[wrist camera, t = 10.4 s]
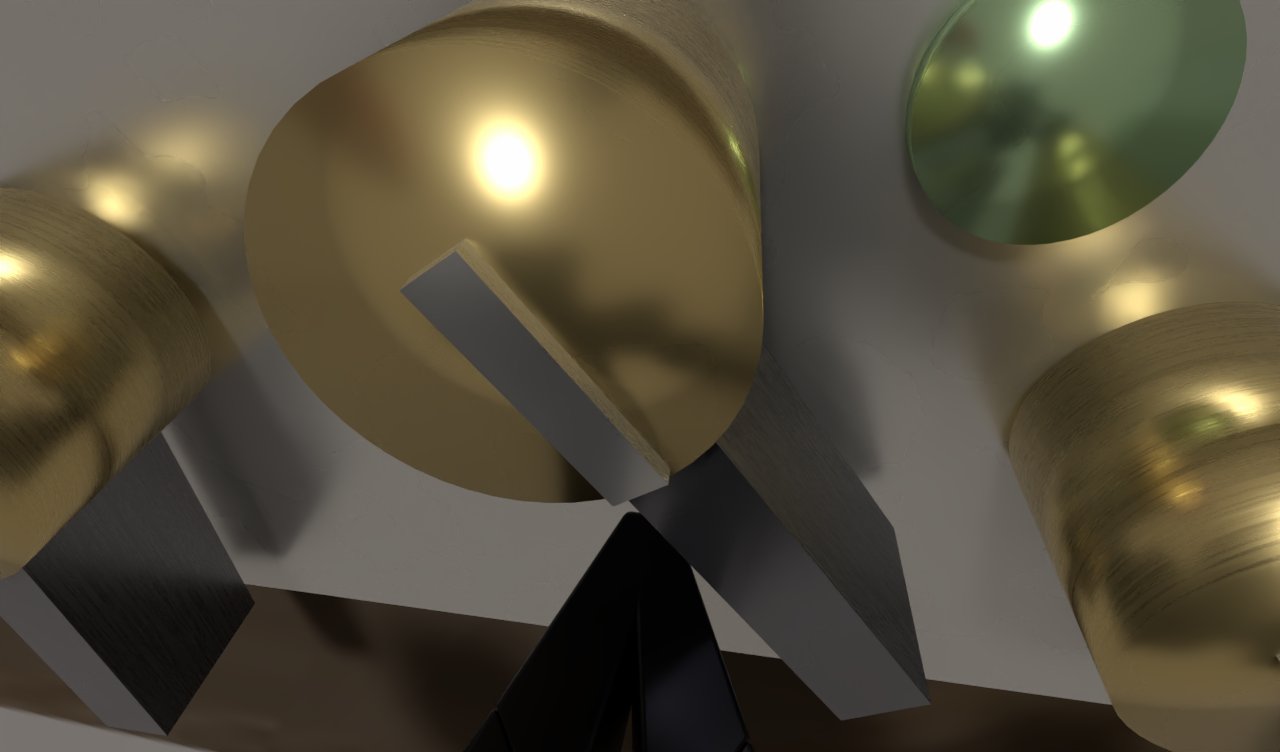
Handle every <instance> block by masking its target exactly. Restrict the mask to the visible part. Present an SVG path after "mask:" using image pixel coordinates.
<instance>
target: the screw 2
mask: <svg viewBox="0 0 1280 752" xmlns="http://www.w3.org/2000/svg"><path fill="white" fill-rule="evenodd" d="M1009 455H1010V461H1011V465H1012V468H1013V471H1014V474H1015V476H1016V479H1017V481H1018V483H1019V486H1020V488H1021V490H1022V493H1023V495H1024V498H1025V500H1026V502H1027V505H1028V507H1029V509H1030V512H1031V514H1032V516H1033V519H1034V521H1035V524H1036V526H1037V528H1038V531H1039V533H1040V535H1041V538H1042V540H1043V543H1044V545H1045V547H1046V550H1047V552H1048V554H1049V557H1050V559H1051V561H1052V564H1053V566H1054V569H1055V571H1056V573H1057V576H1058V578H1059V580H1060V583H1061V585H1062V587H1063V590H1064V592H1065V595H1066V597H1067V599H1068V602H1069V604H1070V606H1071V609H1072V611H1073V614H1074V616H1075V618H1076V621H1077V623H1078V625H1079V628H1080V630H1081V632H1082V635H1083V637H1084V640H1085V642H1086V644H1087V647H1088V649H1089V651H1090V654H1091V656H1092V659H1093V661H1094V663H1095V666H1096V668H1097V670H1098V673H1099V675H1100V677H1101V680H1102V682H1103V685H1104V687H1105V689H1106V692H1107V694H1108V696H1109V699H1110V701H1111V704H1112V706H1113V707H1114V709H1115V711H1116V713H1117V715H1118V716H1119V717H1120V719H1121V720H1122V721H1123V722H1124V723H1125V724H1126V725H1127V726H1128V727H1129V728H1130V729H1132V730H1133V731H1134V732H1135V733H1137V734H1138V735H1139V736H1141V737H1143V738H1145V739H1146V740H1148V741H1150V742H1152V743H1154V744H1155V745H1158V746H1160V747H1163V748H1165V749H1168V750H1170V751H1173V752H1280V306H1279V305H1274V304H1267V303H1257V302H1217V303H1208V304H1198V305H1193V306H1188V307H1182V308H1177V309H1172V310H1169V311H1165V312H1161V313H1158V314H1154V315H1151V316H1147V317H1145V318H1142V319H1139V320H1137V321H1134V322H1131V323H1129V324H1126V325H1123V326H1121V327H1119V328H1117V329H1115V330H1113V331H1110V332H1108V333H1106V334H1104V335H1102V336H1100V337H1098V338H1097V339H1095V340H1093V341H1091V342H1090V343H1088V344H1086V345H1085V346H1083V347H1081V348H1080V349H1078V350H1077V351H1075V352H1074V353H1073V354H1071V355H1070V356H1068V357H1067V358H1066V359H1064V360H1063V361H1061V362H1060V363H1059V364H1058V365H1057V366H1056V367H1055V368H1053V369H1052V370H1051V371H1050V372H1049V373H1048V374H1047V375H1046V376H1045V377H1044V378H1043V379H1042V380H1041V381H1040V382H1039V383H1038V384H1037V385H1036V387H1035V388H1034V389H1033V390H1032V391H1031V393H1030V394H1029V396H1028V397H1027V398H1026V400H1025V401H1024V403H1023V404H1022V406H1021V408H1020V410H1019V412H1018V414H1017V416H1016V418H1015V421H1014V424H1013V427H1012V430H1011V434H1010V441H1009Z"/></svg>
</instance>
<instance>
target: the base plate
mask: <svg viewBox="0 0 1280 752" xmlns="http://www.w3.org/2000/svg"><path fill="white" fill-rule="evenodd" d="M472 1H474V0H0V188H14V189H21V190H27V191H33V192H36V193H40V194H44V195H47V196H51V197H54V198H56V199H59V200H62V201H64V202H67V203H70V204H72V205H74V206H76V207H78V208H80V209H82V210H85V211H87V212H89V213H91V214H92V215H94V216H96V217H98V218H99V219H101V220H103V221H105V222H106V223H108V224H110V225H111V226H113V227H114V228H116V229H117V230H119V231H120V232H121V233H123V234H124V235H126V236H127V237H129V238H130V239H131V240H132V241H134V242H135V243H136V244H137V245H139V246H140V247H141V248H142V249H144V250H145V251H146V252H147V253H148V254H149V255H150V256H151V257H153V258H154V259H155V260H156V261H157V262H158V263H159V264H160V265H161V266H162V267H163V268H164V269H165V270H166V271H167V272H168V274H169V275H170V276H171V277H172V278H173V279H174V280H175V281H176V283H177V284H178V285H179V286H180V288H181V289H182V290H183V292H184V293H185V294H186V295H187V297H188V299H189V300H190V302H191V303H192V305H193V306H194V308H195V309H196V311H197V313H198V315H199V317H200V319H201V321H202V323H203V325H204V328H205V330H206V333H207V336H208V339H209V343H210V348H211V355H212V367H211V374H210V377H209V380H208V382H207V385H206V386H205V388H204V389H203V391H202V392H201V393H200V394H199V395H198V396H197V397H196V398H195V399H194V400H193V401H192V402H191V403H190V404H189V405H188V406H187V407H186V408H185V409H184V410H183V411H182V412H181V413H180V414H179V415H178V416H177V417H176V418H175V419H174V420H173V421H171V422H170V423H169V424H168V425H167V426H166V427H165V428H164V429H163V430H162V431H161V432H162V434H163V436H164V438H165V439H166V441H167V443H168V445H169V447H170V449H171V450H172V452H173V454H174V456H175V458H176V460H177V461H178V463H179V465H180V467H181V469H182V471H183V472H184V474H185V476H186V478H187V480H188V482H189V483H190V485H191V487H192V489H193V491H194V492H195V494H196V496H197V498H198V500H199V502H200V503H201V505H202V507H203V509H204V511H205V513H206V514H207V516H208V518H209V520H210V522H211V524H212V525H213V527H214V529H215V531H216V533H217V535H218V536H219V538H220V540H221V542H222V544H223V546H224V547H225V549H226V551H227V553H228V555H229V557H230V558H231V560H232V562H233V564H234V566H235V568H236V569H237V571H238V573H239V575H240V577H241V579H242V580H243V582H244V584H250V585H258V586H265V587H272V588H279V589H286V590H293V591H301V592H308V593H315V594H322V595H329V596H336V597H343V598H351V599H358V600H365V601H372V602H379V603H386V604H394V605H401V606H408V607H415V608H422V609H429V610H437V611H444V612H451V613H458V614H465V615H472V616H480V617H487V618H494V619H501V620H508V621H515V622H522V623H530V624H537V625H544V626H549V625H550V623H551V622H552V621H553V619H554V618H555V616H556V615H557V613H558V612H559V610H560V609H561V607H562V606H563V604H564V603H565V601H566V600H567V598H568V597H569V595H570V594H571V592H572V591H573V589H574V588H575V586H576V585H577V583H578V582H579V580H580V579H581V578H582V576H583V575H584V573H585V572H586V570H587V569H588V567H589V566H590V564H591V563H592V561H593V560H594V558H595V557H596V555H597V554H598V552H599V551H600V549H601V548H602V546H603V545H604V543H605V542H606V540H607V539H608V537H609V536H610V535H611V533H612V532H613V530H614V529H615V527H616V526H617V524H618V523H619V521H620V520H621V518H622V517H623V515H624V514H625V513H627V512H629V511H633V512H639V511H638V510H637V509H636V508H635V507H634V506H633V505H632V504H631V503H630V502H629V501H626V502H624V503H621V504H619V505H616V506H614V507H613V506H612V505H611V504H610V503H609V502H608V501H607V500H606V499H601V500H594V501H585V502H576V503H541V502H528V501H518V500H512V499H506V498H500V497H494V496H490V495H487V494H483V493H479V492H475V491H471V490H467V489H464V488H461V487H459V486H456V485H453V484H450V483H447V482H444V481H441V480H439V479H437V478H434V477H432V476H430V475H428V474H425V473H423V472H421V471H419V470H416V469H414V468H413V467H411V466H409V465H407V464H405V463H403V462H401V461H400V460H398V459H396V458H394V457H392V456H390V455H389V454H387V453H386V452H384V451H383V450H381V449H380V448H378V447H377V446H375V445H374V444H372V443H371V442H369V441H367V440H366V439H365V438H363V437H362V436H361V435H360V434H358V433H357V432H356V431H355V430H353V429H352V428H351V427H349V426H348V425H347V424H346V423H344V422H343V421H342V420H341V419H340V418H339V417H338V416H337V415H336V414H335V413H333V412H332V411H331V410H330V409H329V408H328V407H327V406H326V405H325V404H324V403H323V402H322V401H321V400H320V399H319V398H318V397H317V396H316V394H315V393H314V392H313V391H312V390H311V389H310V388H309V387H308V386H307V384H306V383H305V382H304V381H303V380H302V379H301V377H300V376H299V374H298V373H297V372H296V370H295V369H294V368H293V366H292V365H291V364H290V362H289V361H288V359H287V358H286V357H285V355H284V354H283V352H282V350H281V348H280V347H279V345H278V343H277V342H276V340H275V338H274V336H273V335H272V333H271V331H270V329H269V327H268V325H267V323H266V320H265V318H264V316H263V313H262V311H261V309H260V307H259V304H258V302H257V299H256V295H255V292H254V289H253V285H252V282H251V279H250V275H249V270H248V264H247V258H246V252H245V245H244V212H245V205H246V198H247V192H248V185H249V182H250V179H251V176H252V173H253V170H254V167H255V164H256V161H257V158H258V156H259V154H260V152H261V150H262V148H263V147H264V145H265V143H266V141H267V139H268V138H269V136H270V134H271V132H272V130H273V129H274V127H275V126H276V125H277V124H278V123H279V121H280V120H281V119H282V118H283V117H284V115H285V114H286V113H287V112H288V111H289V109H290V108H291V107H292V106H293V105H294V104H295V103H296V102H297V101H298V100H300V99H301V98H302V97H303V96H304V95H306V94H307V93H308V92H309V91H311V90H312V89H313V88H314V87H315V86H317V85H318V84H319V83H320V82H322V81H324V80H326V79H328V78H329V77H331V76H333V75H335V74H337V73H339V72H340V71H342V70H344V69H346V68H348V67H349V66H351V65H353V64H355V63H357V62H359V61H361V60H363V59H364V58H366V57H368V56H370V55H372V54H374V53H376V52H378V51H379V50H381V49H383V48H385V47H387V46H389V45H391V44H393V43H395V42H396V41H398V40H400V39H402V38H404V37H406V36H408V35H410V34H411V33H413V32H415V31H417V30H419V29H421V28H423V27H425V26H427V25H428V24H430V23H432V22H434V21H436V20H438V19H440V18H442V17H444V16H445V15H447V14H449V13H451V12H453V11H455V10H457V9H459V8H460V7H462V6H464V5H466V4H468V3H470V2H472ZM677 1H679V2H680V3H682V4H683V5H684V6H685V7H687V8H688V9H689V10H690V11H691V12H692V13H694V14H695V15H696V16H697V17H698V18H699V19H701V20H702V21H703V22H704V23H705V25H706V26H707V27H708V28H709V29H710V30H711V31H712V32H713V34H714V35H715V36H716V37H717V38H718V39H719V40H720V42H721V43H722V45H723V46H724V48H725V49H726V51H727V52H728V54H729V55H730V56H731V58H732V59H733V61H734V63H735V65H736V67H737V69H738V71H739V73H740V75H741V77H742V79H743V81H744V83H745V85H746V88H747V91H748V94H749V97H750V100H751V102H752V105H753V109H754V114H755V119H756V124H757V129H758V139H759V157H760V198H761V239H762V280H763V322H764V324H763V335H762V341H763V343H764V344H765V346H766V347H767V348H768V350H769V351H770V353H771V354H772V356H773V357H774V358H775V360H776V361H777V363H778V364H779V366H780V367H781V368H782V370H783V371H784V373H785V374H786V375H787V377H788V378H789V380H790V381H791V383H792V384H793V385H794V387H795V388H796V390H797V391H798V393H799V394H800V395H801V397H802V398H803V400H804V401H805V402H806V404H807V405H808V407H809V408H810V410H811V411H812V412H813V414H814V415H815V417H816V418H817V419H818V421H819V422H820V424H821V425H822V427H823V428H824V429H825V431H826V432H827V434H828V435H829V437H830V438H831V439H832V441H833V442H834V444H835V445H836V446H837V448H838V449H839V451H840V452H841V454H842V455H843V456H844V458H845V459H846V461H847V462H848V464H849V465H850V466H851V468H852V469H853V471H854V472H855V473H856V475H857V476H858V478H859V479H860V481H861V482H862V483H863V485H864V486H865V488H866V489H867V491H868V492H869V493H870V495H871V496H872V498H873V499H874V500H875V502H876V503H877V505H878V506H879V508H880V509H881V510H882V512H883V513H884V515H885V516H886V518H887V519H888V520H889V522H890V523H891V525H892V526H893V527H894V530H895V535H896V540H897V545H898V549H899V554H900V559H901V564H902V568H903V573H904V578H905V583H906V588H907V592H908V597H909V602H910V607H911V611H912V616H913V621H914V626H915V630H916V635H917V640H918V645H919V649H920V654H921V659H922V664H923V668H924V673H925V678H926V679H931V680H938V681H945V682H952V683H959V684H966V685H974V686H981V687H988V688H995V689H1002V690H1009V691H1016V692H1024V693H1031V694H1038V695H1045V696H1052V697H1059V698H1067V699H1074V700H1081V701H1088V702H1095V703H1102V704H1110V705H1112V704H1111V701H1110V699H1109V696H1108V694H1107V692H1106V689H1105V687H1104V685H1103V682H1102V680H1101V677H1100V675H1099V673H1098V670H1097V668H1096V666H1095V663H1094V661H1093V659H1092V656H1091V654H1090V651H1089V649H1088V647H1087V644H1086V642H1085V640H1084V637H1083V635H1082V632H1081V630H1080V628H1079V625H1078V623H1077V621H1076V618H1075V616H1074V614H1073V611H1072V609H1071V606H1070V604H1069V602H1068V599H1067V597H1066V595H1065V592H1064V590H1063V587H1062V585H1061V583H1060V580H1059V578H1058V576H1057V573H1056V571H1055V569H1054V566H1053V564H1052V561H1051V559H1050V557H1049V554H1048V552H1047V550H1046V547H1045V545H1044V543H1043V540H1042V538H1041V535H1040V533H1039V531H1038V528H1037V526H1036V524H1035V521H1034V519H1033V516H1032V514H1031V512H1030V509H1029V507H1028V505H1027V502H1026V500H1025V498H1024V495H1023V493H1022V490H1021V488H1020V486H1019V483H1018V481H1017V479H1016V476H1015V474H1014V471H1013V468H1012V465H1011V461H1010V455H1009V441H1010V434H1011V430H1012V427H1013V424H1014V421H1015V418H1016V416H1017V414H1018V412H1019V410H1020V408H1021V406H1022V404H1023V403H1024V401H1025V400H1026V398H1027V397H1028V396H1029V394H1030V393H1031V391H1032V390H1033V389H1034V388H1035V387H1036V385H1037V384H1038V383H1039V382H1040V381H1041V380H1042V379H1043V378H1044V377H1045V376H1046V375H1047V374H1048V373H1049V372H1050V371H1051V370H1052V369H1053V368H1055V367H1056V366H1057V365H1058V364H1059V363H1060V362H1061V361H1063V360H1064V359H1066V358H1067V357H1068V356H1070V355H1071V354H1073V353H1074V352H1075V351H1077V350H1078V349H1080V348H1081V347H1083V346H1085V345H1086V344H1088V343H1090V342H1091V341H1093V340H1095V339H1097V338H1098V337H1100V336H1102V335H1104V334H1106V333H1108V332H1110V331H1113V330H1115V329H1117V328H1119V327H1121V326H1123V325H1126V324H1129V323H1131V322H1134V321H1137V320H1139V319H1142V318H1145V317H1147V316H1151V315H1154V314H1158V313H1161V312H1165V311H1169V310H1172V309H1177V308H1182V307H1188V306H1193V305H1198V304H1208V303H1217V302H1257V303H1267V304H1274V305H1279V306H1280V0H677ZM691 567H692V566H691ZM692 570H693V573H694V576H695V579H696V581H697V584H698V587H699V590H700V593H701V596H702V599H703V602H704V605H705V608H706V611H707V613H708V616H709V619H710V622H711V625H712V628H713V631H714V634H715V637H716V640H717V642H718V645H719V648H720V650H723V651H730V652H737V653H744V654H752V655H759V656H766V657H773V658H780V657H779V656H778V655H777V654H776V653H775V652H774V651H773V650H772V649H771V648H770V647H769V646H768V645H767V644H766V643H765V642H764V640H763V639H762V638H761V637H760V636H759V635H758V634H757V633H756V632H755V631H754V630H753V629H752V628H751V627H750V626H749V625H748V624H747V623H746V622H745V621H744V620H743V619H742V618H741V617H740V616H739V615H738V614H737V613H736V611H735V610H734V609H733V608H732V607H731V606H730V605H729V604H728V603H727V602H726V601H725V600H724V599H723V598H722V597H721V596H720V595H719V594H718V593H717V592H716V591H715V590H714V589H713V588H712V587H711V586H710V585H709V584H708V582H707V581H706V580H705V579H704V578H703V577H702V576H701V575H700V574H699V573H698V572H697V571H696V570H695V569H694V568H693V567H692ZM780 659H781V658H780Z"/></svg>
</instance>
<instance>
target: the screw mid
mask: <svg viewBox="0 0 1280 752" xmlns="http://www.w3.org/2000/svg"><path fill="white" fill-rule="evenodd" d="M244 245H245V252H246V258H247V264H248V270H249V275H250V279H251V282H252V285H253V289H254V292H255V295H256V299H257V302H258V304H259V307H260V309H261V311H262V313H263V316H264V318H265V320H266V323H267V325H268V327H269V329H270V331H271V333H272V335H273V336H274V338H275V340H276V342H277V343H278V345H279V347H280V348H281V350H282V352H283V354H284V355H285V357H286V358H287V359H288V361H289V362H290V364H291V365H292V366H293V368H294V369H295V370H296V372H297V373H298V374H299V376H300V377H301V379H302V380H303V381H304V382H305V383H306V384H307V386H308V387H309V388H310V389H311V390H312V391H313V392H314V393H315V394H316V396H317V397H318V398H319V399H320V400H321V401H322V402H323V403H324V404H325V405H326V406H327V407H328V408H329V409H330V410H331V411H332V412H333V413H335V414H336V415H337V416H338V417H339V418H340V419H341V420H342V421H343V422H344V423H346V424H347V425H348V426H349V427H351V428H352V429H353V430H355V431H356V432H357V433H358V434H360V435H361V436H362V437H363V438H365V439H366V440H367V441H369V442H371V443H372V444H374V445H375V446H377V447H378V448H380V449H381V450H383V451H384V452H386V453H387V454H389V455H390V456H392V457H394V458H396V459H398V460H400V461H401V462H403V463H405V464H407V465H409V466H411V467H413V468H414V469H416V470H419V471H421V472H423V473H425V474H428V475H430V476H432V477H434V478H437V479H439V480H441V481H444V482H447V483H450V484H453V485H456V486H459V487H461V488H464V489H467V490H471V491H475V492H479V493H483V494H487V495H490V496H494V497H500V498H506V499H512V500H518V501H528V502H541V503H576V502H585V501H594V500H601V499H606V500H607V501H608V502H609V503H610V504H611V505H612V506H613V507H614V506H616V505H619V504H621V503H624V502H626V501H629V502H630V503H631V504H632V505H633V506H634V507H635V508H636V509H637V510H638V511H639V512H640V513H641V514H642V515H643V516H644V517H645V518H646V519H647V520H648V521H649V522H650V523H651V525H652V526H653V527H654V528H655V529H656V530H657V531H658V532H659V533H660V534H661V535H662V536H663V537H664V538H665V539H666V540H667V541H668V542H669V543H670V544H671V545H672V546H673V547H674V548H675V549H676V550H677V551H678V552H679V554H680V555H681V556H682V557H683V558H684V559H685V560H686V561H687V562H688V563H689V564H690V565H691V566H692V567H693V568H694V569H695V570H696V571H697V572H698V573H699V574H700V575H701V576H702V577H703V578H704V579H705V580H706V581H707V582H708V584H709V585H710V586H711V587H712V588H713V589H714V590H715V591H716V592H717V593H718V594H719V595H720V596H721V597H722V598H723V599H724V600H725V601H726V602H727V603H728V604H729V605H730V606H731V607H732V608H733V609H734V610H735V611H736V613H737V614H738V615H739V616H740V617H741V618H742V619H743V620H744V621H745V622H746V623H747V624H748V625H749V626H750V627H751V628H752V629H753V630H754V631H755V632H756V633H757V634H758V635H759V636H760V637H761V638H762V639H763V640H764V642H765V643H766V644H767V645H768V646H769V647H770V648H771V649H772V650H773V651H774V652H775V653H776V654H777V655H778V656H779V657H780V658H781V659H782V660H783V661H784V662H785V663H786V664H787V665H788V666H789V667H790V668H791V669H792V670H793V672H794V673H795V674H796V675H797V676H798V677H799V678H800V679H801V680H802V681H803V682H804V683H805V684H806V685H807V686H808V687H809V688H810V689H811V690H812V691H813V692H814V693H815V694H816V695H817V696H818V697H819V698H820V699H821V701H822V702H823V703H824V704H825V705H826V706H827V707H828V708H829V709H830V710H831V711H832V712H833V713H834V714H835V715H836V716H837V717H838V718H839V719H840V720H841V721H842V720H847V719H853V718H858V717H864V716H869V715H875V714H880V713H885V712H891V711H896V710H902V709H907V708H913V707H918V706H923V705H929V704H931V702H930V697H929V692H928V688H927V683H926V678H925V673H924V668H923V664H922V659H921V654H920V649H919V645H918V640H917V635H916V630H915V626H914V621H913V616H912V611H911V607H910V602H909V597H908V592H907V588H906V583H905V578H904V573H903V568H902V564H901V559H900V554H899V549H898V545H897V540H896V535H895V530H894V527H893V526H892V525H891V523H890V522H889V520H888V519H887V518H886V516H885V515H884V513H883V512H882V510H881V509H880V508H879V506H878V505H877V503H876V502H875V500H874V499H873V498H872V496H871V495H870V493H869V492H868V491H867V489H866V488H865V486H864V485H863V483H862V482H861V481H860V479H859V478H858V476H857V475H856V473H855V472H854V471H853V469H852V468H851V466H850V465H849V464H848V462H847V461H846V459H845V458H844V456H843V455H842V454H841V452H840V451H839V449H838V448H837V446H836V445H835V444H834V442H833V441H832V439H831V438H830V437H829V435H828V434H827V432H826V431H825V429H824V428H823V427H822V425H821V424H820V422H819V421H818V419H817V418H816V417H815V415H814V414H813V412H812V411H811V410H810V408H809V407H808V405H807V404H806V402H805V401H804V400H803V398H802V397H801V395H800V394H799V393H798V391H797V390H796V388H795V387H794V385H793V384H792V383H791V381H790V380H789V378H788V377H787V375H786V374H785V373H784V371H783V370H782V368H781V367H780V366H779V364H778V363H777V361H776V360H775V358H774V357H773V356H772V354H771V353H770V351H769V350H768V348H767V347H766V346H765V344H764V343H763V341H762V335H763V324H764V322H763V280H762V239H761V198H760V157H759V139H758V129H757V124H756V119H755V114H754V109H753V105H752V102H751V100H750V97H749V94H748V91H747V88H746V85H745V83H744V81H743V79H742V77H741V75H740V73H739V71H738V69H737V67H736V65H735V63H734V61H733V59H732V58H731V56H730V55H729V54H728V52H727V51H726V49H725V48H724V46H723V45H722V43H721V42H720V40H719V39H718V38H717V37H716V36H715V35H714V34H713V32H712V31H711V30H710V29H709V28H708V27H707V26H706V25H705V23H704V22H703V21H702V20H701V19H699V18H698V17H697V16H696V15H695V14H694V13H692V12H691V11H690V10H689V9H688V8H687V7H685V6H684V5H683V4H682V3H680V2H679V1H677V0H474V1H472V2H470V3H468V4H466V5H464V6H462V7H460V8H459V9H457V10H455V11H453V12H451V13H449V14H447V15H445V16H444V17H442V18H440V19H438V20H436V21H434V22H432V23H430V24H428V25H427V26H425V27H423V28H421V29H419V30H417V31H415V32H413V33H411V34H410V35H408V36H406V37H404V38H402V39H400V40H398V41H396V42H395V43H393V44H391V45H389V46H387V47H385V48H383V49H381V50H379V51H378V52H376V53H374V54H372V55H370V56H368V57H366V58H364V59H363V60H361V61H359V62H357V63H355V64H353V65H351V66H349V67H348V68H346V69H344V70H342V71H340V72H339V73H337V74H335V75H333V76H331V77H329V78H328V79H326V80H324V81H322V82H320V83H319V84H318V85H317V86H315V87H314V88H313V89H312V90H311V91H309V92H308V93H307V94H306V95H304V96H303V97H302V98H301V99H300V100H298V101H297V102H296V103H295V104H294V105H293V106H292V107H291V108H290V109H289V111H288V112H287V113H286V114H285V115H284V117H283V118H282V119H281V120H280V121H279V123H278V124H277V125H276V126H275V127H274V129H273V130H272V132H271V134H270V136H269V138H268V139H267V141H266V143H265V145H264V147H263V148H262V150H261V152H260V154H259V156H258V158H257V161H256V164H255V167H254V170H253V173H252V176H251V179H250V182H249V185H248V192H247V198H246V205H245V212H244Z"/></svg>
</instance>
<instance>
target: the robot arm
mask: <svg viewBox="0 0 1280 752" xmlns="http://www.w3.org/2000/svg"><path fill="white" fill-rule="evenodd" d="M631 705H632V752H755V749H754V746H753V744H752V743H751V742H749V740H750V735H749V733H748V730H747V727H746V724H745V721H744V718H743V715H742V712H741V709H740V706H739V703H738V701H737V698H736V695H735V692H734V689H733V686H732V683H731V680H730V677H729V674H728V672H727V669H726V666H725V663H724V660H723V657H722V654H721V651H720V648H719V645H718V642H717V640H716V637H715V634H714V631H713V628H712V625H711V622H710V619H709V616H708V613H707V611H706V608H705V605H704V602H703V599H702V596H701V593H700V590H699V587H698V584H697V581H696V579H695V576H694V573H693V570H692V567H691V565H690V564H689V563H688V562H687V561H686V560H685V559H684V558H683V557H682V556H681V555H680V554H679V552H678V551H677V550H676V549H675V548H674V547H673V546H672V545H671V544H670V543H669V542H668V541H667V540H666V539H665V538H664V537H663V536H662V535H661V534H660V533H659V532H658V531H657V530H656V529H655V528H654V527H653V526H652V525H651V523H650V522H649V521H648V520H647V519H646V518H645V517H644V516H643V515H642V514H641V513H640V512H633V511H629V512H627V513H625V514H624V515H623V517H622V518H621V520H620V521H619V523H618V524H617V526H616V527H615V529H614V530H613V532H612V533H611V535H610V536H609V537H608V539H607V540H606V542H605V543H604V545H603V546H602V548H601V549H600V551H599V552H598V554H597V555H596V557H595V558H594V560H593V561H592V563H591V564H590V566H589V567H588V569H587V570H586V572H585V573H584V575H583V576H582V578H581V579H580V580H579V582H578V583H577V585H576V586H575V588H574V589H573V591H572V592H571V594H570V595H569V597H568V598H567V600H566V601H565V603H564V604H563V606H562V607H561V609H560V610H559V612H558V613H557V615H556V616H555V618H554V619H553V621H552V622H551V623H550V625H549V626H548V628H547V629H546V631H545V632H544V634H543V635H542V637H541V638H540V640H539V641H538V643H537V644H536V646H535V647H534V649H533V650H532V652H531V653H530V655H529V656H528V658H527V659H526V661H525V662H524V663H523V665H522V666H521V668H520V669H519V671H518V672H517V674H516V675H515V677H514V678H513V680H512V681H511V683H510V684H509V686H508V687H507V689H506V690H505V692H504V693H503V695H502V696H501V698H500V699H499V701H498V702H497V704H496V710H492V711H491V712H490V713H489V715H488V716H487V718H486V719H485V721H484V722H483V724H482V725H481V727H480V728H479V730H478V731H477V733H476V734H475V736H474V737H473V738H472V740H471V741H470V743H469V744H468V745H467V747H466V748H465V750H464V751H463V752H621V748H622V744H623V740H624V735H625V731H626V727H627V722H628V718H629V713H630V709H631Z"/></svg>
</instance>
